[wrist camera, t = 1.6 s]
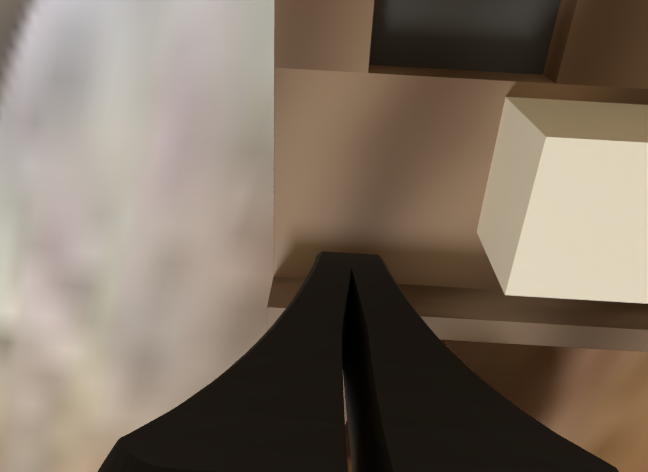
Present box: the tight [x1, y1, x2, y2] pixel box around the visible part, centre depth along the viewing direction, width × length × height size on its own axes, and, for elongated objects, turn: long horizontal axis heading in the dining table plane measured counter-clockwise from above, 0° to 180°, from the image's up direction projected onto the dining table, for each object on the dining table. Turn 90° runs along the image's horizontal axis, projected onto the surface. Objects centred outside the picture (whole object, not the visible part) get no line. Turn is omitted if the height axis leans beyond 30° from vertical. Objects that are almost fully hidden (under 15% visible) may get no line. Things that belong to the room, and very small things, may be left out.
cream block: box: [477, 97, 648, 304], centre depth 17 cm, size 5×5×4 cm
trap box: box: [267, 0, 648, 352], centre depth 18 cm, size 24×13×4 cm, turn 87°
